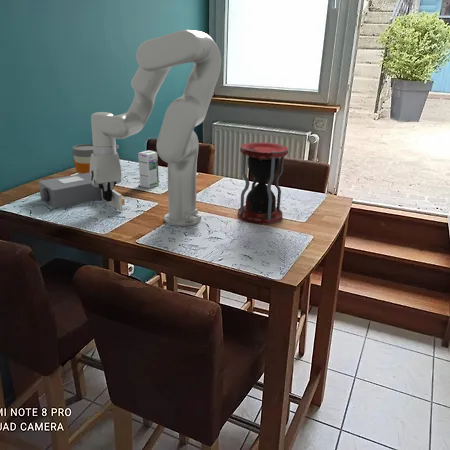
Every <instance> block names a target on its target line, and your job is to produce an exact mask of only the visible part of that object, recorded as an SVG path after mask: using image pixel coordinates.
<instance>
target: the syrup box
mask: <svg viewBox="0 0 450 450" xmlns="http://www.w3.org/2000/svg"><path fill="white" fill-rule="evenodd" d="M137 154H138V169H139V170H138V171H139V185H140V186H141V187H142V188H143V187H144V188H147V189H151V188H154V187H157V186H159V185H160V182H159V179H160V178H159V161H158V160H159V159H158V157H159V155H158V153H157V151H154V150H149V149H148V150H144V151H141V152H138V153H137Z"/></svg>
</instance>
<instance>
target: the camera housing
mask: <svg viewBox="0 0 450 450" xmlns="http://www.w3.org/2000/svg"><path fill="white" fill-rule="evenodd" d="M38 186H39V194H40V199H41V200H42V201H43V202H44V203H46V204H48V205H49V206H51V207H52V208H53V209H55V210H56V209H61V208H66V207H67V208H68V207H70V206H75V205H79V204H85V203H89V202H94V201H99V200H102V199H101V190H100V188H99V187H93V186H92V181H91V180H90V173H83V174H78V173H77V174H73V175H67V176H61V177H60V176H59V177H55V178H48V179H44V180H43V179H42V180H38Z"/></svg>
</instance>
